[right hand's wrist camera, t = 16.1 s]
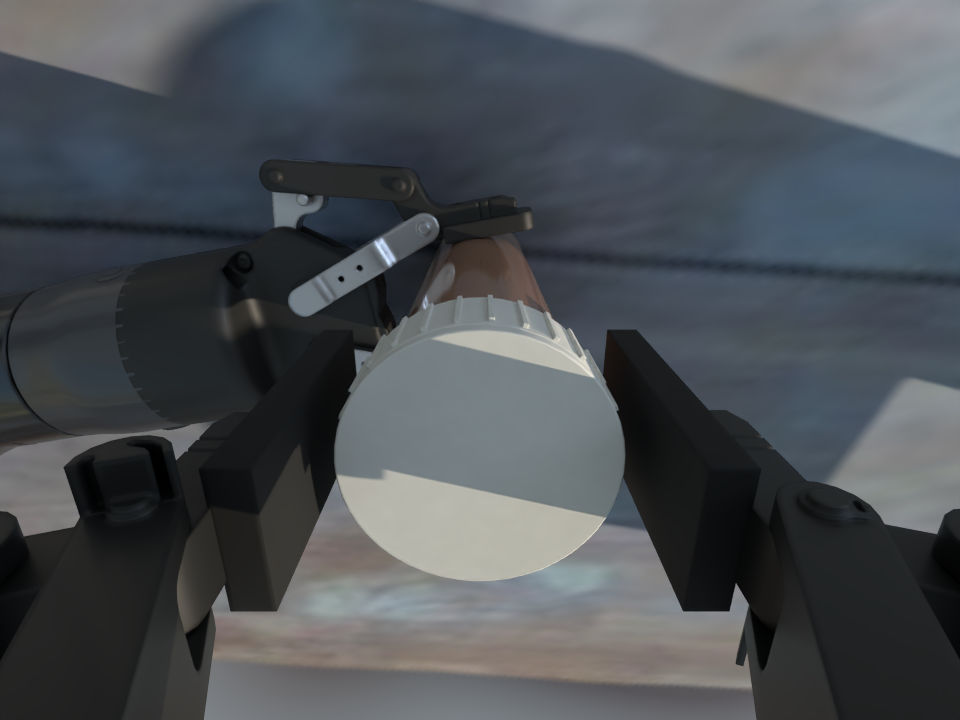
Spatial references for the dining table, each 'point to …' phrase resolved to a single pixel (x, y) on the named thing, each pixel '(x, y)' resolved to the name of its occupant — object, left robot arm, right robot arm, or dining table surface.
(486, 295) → the brown tube
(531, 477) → the lid
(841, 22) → the dining table surface
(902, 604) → the right robot arm
